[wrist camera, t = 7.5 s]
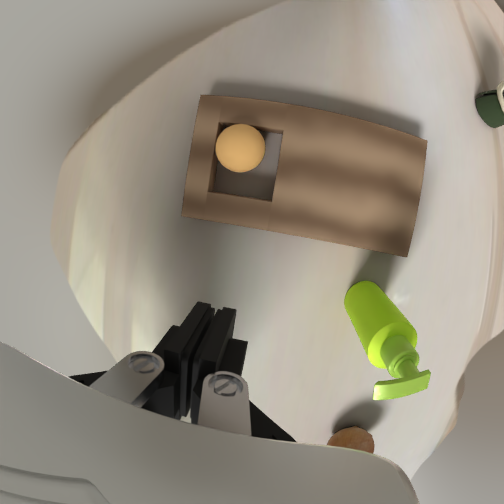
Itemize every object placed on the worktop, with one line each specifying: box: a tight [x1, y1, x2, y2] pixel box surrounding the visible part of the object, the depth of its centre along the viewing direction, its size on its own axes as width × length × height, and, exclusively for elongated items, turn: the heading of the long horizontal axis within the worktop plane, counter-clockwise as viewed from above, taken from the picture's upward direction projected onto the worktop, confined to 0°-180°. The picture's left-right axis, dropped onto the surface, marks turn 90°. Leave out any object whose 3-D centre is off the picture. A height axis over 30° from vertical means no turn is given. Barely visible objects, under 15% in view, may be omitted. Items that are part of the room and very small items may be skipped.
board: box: [181, 95, 427, 257], centre depth 34 cm, size 16×30×3 cm, turn 81°
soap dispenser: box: [344, 281, 431, 400], centre depth 29 cm, size 6×7×20 cm
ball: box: [216, 124, 265, 172], centre depth 33 cm, size 6×6×6 cm
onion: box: [327, 426, 374, 454], centre depth 41 cm, size 10×9×10 cm
